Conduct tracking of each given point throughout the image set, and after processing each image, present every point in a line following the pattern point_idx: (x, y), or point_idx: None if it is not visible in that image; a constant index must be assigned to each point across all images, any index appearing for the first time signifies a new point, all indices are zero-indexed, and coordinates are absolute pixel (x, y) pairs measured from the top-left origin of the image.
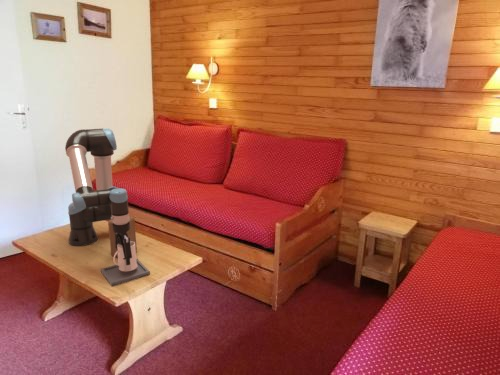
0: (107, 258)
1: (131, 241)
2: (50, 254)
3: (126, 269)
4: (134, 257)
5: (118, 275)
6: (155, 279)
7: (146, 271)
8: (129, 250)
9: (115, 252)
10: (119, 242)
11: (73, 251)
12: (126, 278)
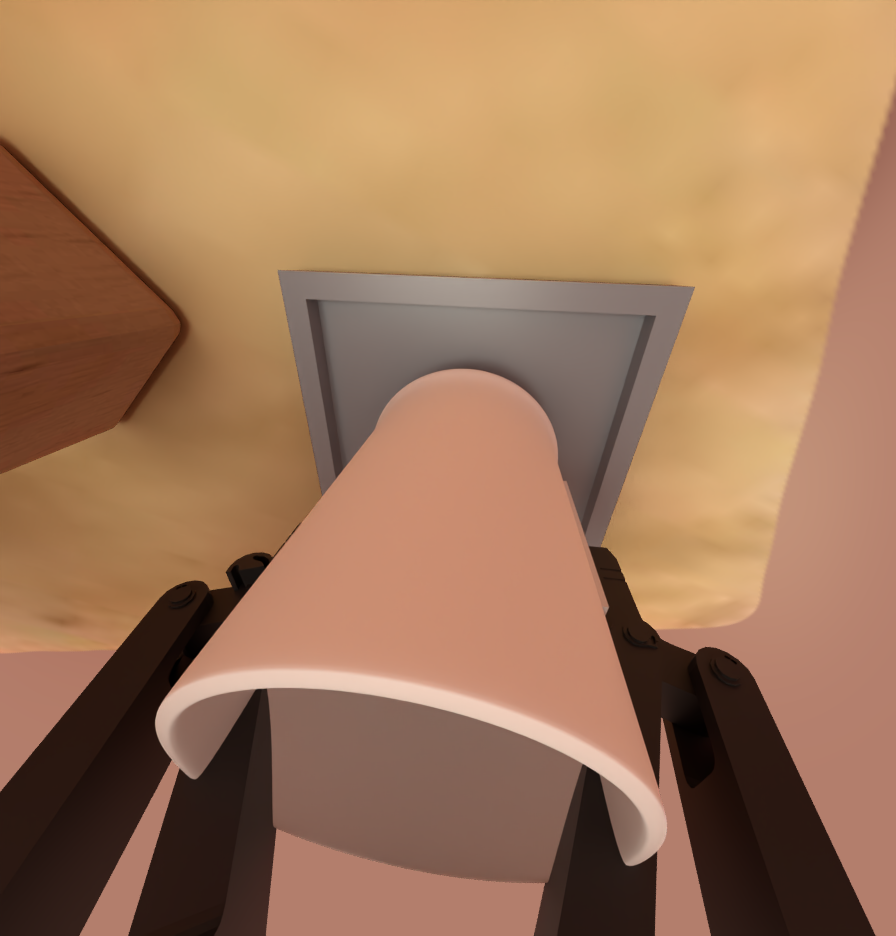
0: (148, 457)
1: (237, 686)
2: (51, 625)
3: None
4: (566, 498)
5: None
6: (825, 281)
7: (659, 323)
8: (824, 901)
9: (92, 421)
10: (264, 869)
11: (14, 557)
12: (607, 523)
